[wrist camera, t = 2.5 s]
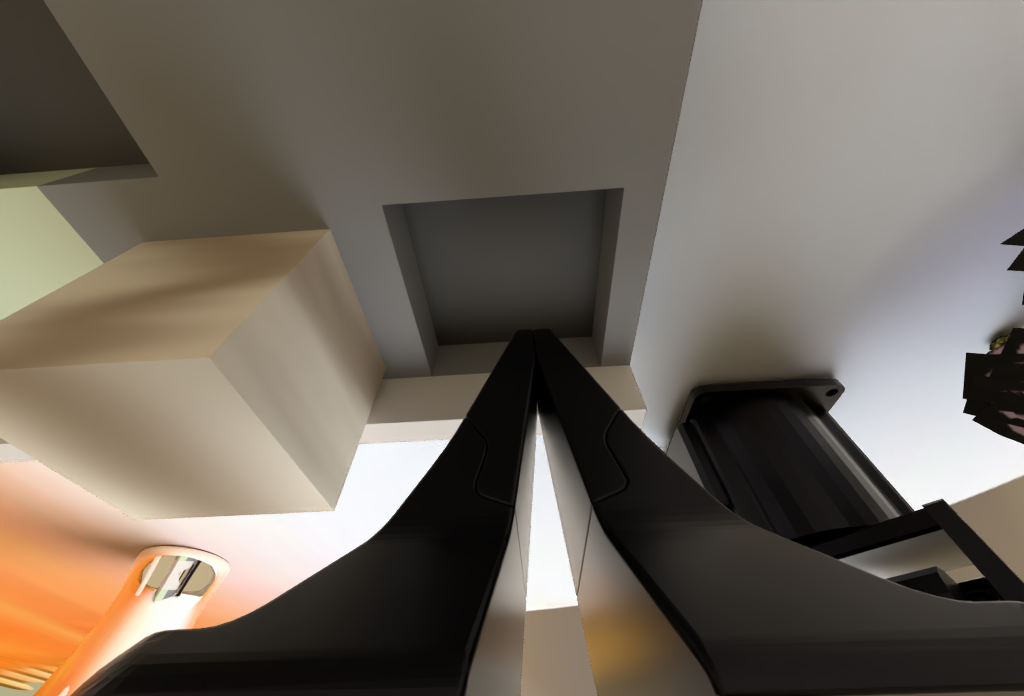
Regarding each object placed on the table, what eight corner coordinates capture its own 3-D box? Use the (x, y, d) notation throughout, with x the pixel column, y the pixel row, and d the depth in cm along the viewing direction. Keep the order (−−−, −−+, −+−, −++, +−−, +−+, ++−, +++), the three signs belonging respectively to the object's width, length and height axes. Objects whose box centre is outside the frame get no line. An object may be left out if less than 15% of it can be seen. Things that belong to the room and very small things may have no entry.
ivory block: (329, 228, 9) (208, 357, 5) (386, 368, 13) (334, 510, 9) (143, 242, 9) (-101, 375, 6) (246, 376, 13) (135, 519, 9)
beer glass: (211, 542, 26) (-16, 930, 15) (251, 576, 31) (101, 893, 19) (111, 542, 26) (-200, 937, 14) (166, 576, 30) (-38, 898, 19)
